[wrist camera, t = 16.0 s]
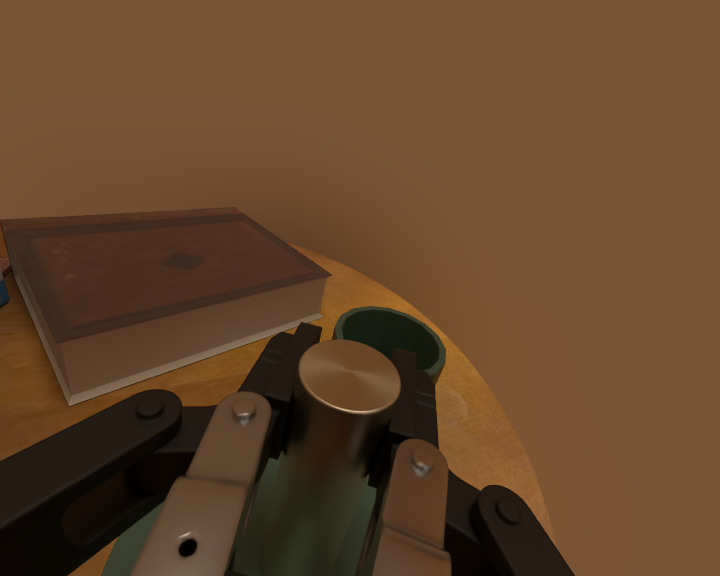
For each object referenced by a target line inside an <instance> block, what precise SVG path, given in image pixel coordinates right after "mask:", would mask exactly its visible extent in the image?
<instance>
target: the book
mask: <svg viewBox="0 0 720 576" xmlns="http://www.w3.org/2000/svg"><path fill="white" fill-rule="evenodd" d="M0 224H1V228H2V232H3V236H4V240H5V244H6V248H7V252H8V256H9V260H10V264H11V268H12V272H13V275H14V277H15V279H16V282H17V284H18V287H19V289H20V291H21V294H22V296H23V298H24V301H25V303H26V306H27V308H28V310H29V313H30V315H31V317H32V320H33V322H34V324H35V327H36V329H37V332H38V334H39V336H40V339H41V341H42V343H43V346H44V348H45V351H46V353H47V355H48V358H49V360H50V362H51V365H52V367H53V370H54V372H55V374H56V377H57V379H58V381H59V384H60V386H61V389H62V391H63V393H64V396H65V398H66V400H67V403H68V405H69V406H71V405H74V404H77V403H80V402H82V401H85V400H88V399H91V398H94V397H97V396H100V395H102V394H105V393H108V392H111V391H114V390H117V389H120V388H122V387H125V386H128V385H131V384H134V383H137V382H140V381H142V380H145V379H148V378H151V377H154V376H157V375H160V374H162V373H165V372H168V371H171V370H174V369H177V368H180V367H182V366H185V365H188V364H191V363H194V362H197V361H200V360H202V359H205V358H208V357H211V356H214V355H217V354H220V353H222V352H225V351H228V350H231V349H234V348H237V347H240V346H243V345H245V344H248V343H251V342H254V341H257V340H260V339H263V338H265V337H268V336H271V335H274V334H277V333H280V332H283V331H285V330H288V329H291V328H294V327H297V326H299V324H300V323H301V322H305V323H308V322H311V321H314V320H317V319H320V318H323V316H322V315H321V314H320V308H321V303H322V298H323V294H324V289H325V285H326V281H327V277H329V276H332V274H330V273H329V272H327V271H326V270H324V269H323V268H322V267H320V266H319V265H317V264H316V263H314V262H313V261H311V260H310V259H309V258H307V257H306V256H304V255H303V254H301V253H300V252H298V251H297V250H295V249H294V248H293V247H291V246H290V245H288V244H287V243H285V242H284V241H282V240H281V239H279V238H278V237H277V236H275V235H274V234H272V233H271V232H269V231H268V230H267V229H265V228H264V227H262V226H261V225H259V224H258V223H256V222H255V221H253V220H252V219H250V218H249V217H248V216H246V215H245V214H243V213H242V212H240V211H239V210H237V209H236V208H235V207H233V208H214V209H196V210H178V211H158V212H140V213H124V214H123V213H122V214H105V215H85V216H68V217H49V218H30V219H12V220H0Z"/></svg>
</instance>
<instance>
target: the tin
mask: <svg viewBox="0 0 720 576" xmlns="http://www.w3.org/2000/svg"><path fill="white" fill-rule="evenodd" d="M338 339H339V340H350V341H355V342H359V343H362V344H365V345H368V346H370V347H372V348H374V349H376V350H377V351H379V352H380V353H382V354H383V355H384V356H386V357H387V358H388V359H389V360H390V359H391V356H392V354H393V351H394V349H395V348H398V349H402V350H405V351H409V352H412V353H416V356H417V369H418V370H421V371H425V372H428V373H429V375H430V377H431V379H432V381H433V382H434V384H435V385H436V383H437V381H438V378H439V376H440V374H441V372H442V369H443V367H444V365H445V358H446V349H445V347H444V345H443V343H442V342H441V340H440V338H439V336H438V335H437V334H436V333H435V332H434V331H433V330H432V329H430V328H429V327H428V326H427V325H426V324H425V323H423V322H421V321H419V320H417V319H416V318H414V317H412V316H410V315H408V314H406V313H403V312H400V311H396V310H393V309H390V308H384V307H374V306H368V307H360V308H354V309H351V310H350V311H348V312H346V313H344V314H342V315H341V316H340V318H339V320H338V321H337V323H336V325H335V328H334V332H333V336H332V340H338Z"/></svg>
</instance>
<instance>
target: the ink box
mask: <svg viewBox="0 0 720 576" xmlns="http://www.w3.org/2000/svg"><path fill="white" fill-rule="evenodd" d="M8 301H9V297H8V294H7V290H6V286H5V282H4V279H3V275H2V271H1V268H0V306H2V305H3V304H5V303H6V302H8Z"/></svg>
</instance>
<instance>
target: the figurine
mask: <svg viewBox="0 0 720 576" xmlns="http://www.w3.org/2000/svg"><path fill="white" fill-rule="evenodd" d="M0 268H1V271H2V275H3V277H4V276H5V275H7V274H8V273H9V272H10V271H11V270H12V268H11V264H10V260H9V258H2V257H0Z"/></svg>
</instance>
